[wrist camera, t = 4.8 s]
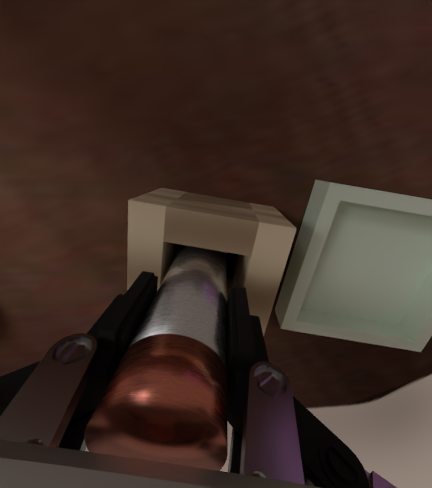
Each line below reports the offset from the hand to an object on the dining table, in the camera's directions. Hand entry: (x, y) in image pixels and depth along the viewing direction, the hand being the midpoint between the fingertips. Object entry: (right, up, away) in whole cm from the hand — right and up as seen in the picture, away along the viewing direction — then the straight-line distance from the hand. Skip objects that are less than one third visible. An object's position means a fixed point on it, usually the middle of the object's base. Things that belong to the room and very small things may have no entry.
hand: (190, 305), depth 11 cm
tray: (+14, +1, +8) cm, 16 cm away
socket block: (+1, +3, +8) cm, 8 cm away
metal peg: (0, +3, +7) cm, 7 cm away
